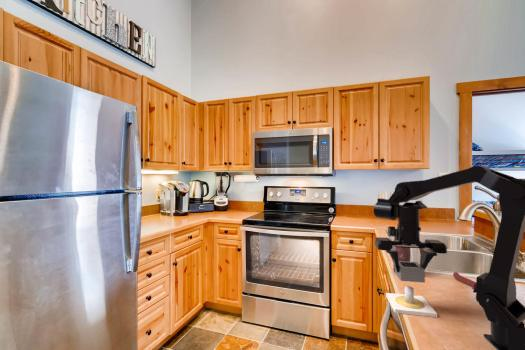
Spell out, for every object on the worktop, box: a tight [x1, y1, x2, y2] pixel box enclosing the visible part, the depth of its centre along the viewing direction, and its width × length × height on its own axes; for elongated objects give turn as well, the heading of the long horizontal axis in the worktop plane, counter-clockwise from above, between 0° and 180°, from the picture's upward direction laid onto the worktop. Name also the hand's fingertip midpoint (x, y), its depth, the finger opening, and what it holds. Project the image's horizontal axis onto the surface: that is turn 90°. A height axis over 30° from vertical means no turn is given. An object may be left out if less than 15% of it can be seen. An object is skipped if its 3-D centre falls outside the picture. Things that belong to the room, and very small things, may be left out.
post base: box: [385, 285, 438, 318], centre depth 79 cm, size 11×11×6 cm
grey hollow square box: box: [394, 261, 426, 284], centre depth 79 cm, size 6×6×4 cm
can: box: [392, 238, 411, 273], centre depth 106 cm, size 6×6×14 cm
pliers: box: [452, 271, 476, 291], centre depth 92 cm, size 12×20×3 cm, turn 158°
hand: (409, 272), depth 79 cm, fingers closed on grey hollow square box, 6 cm apart
